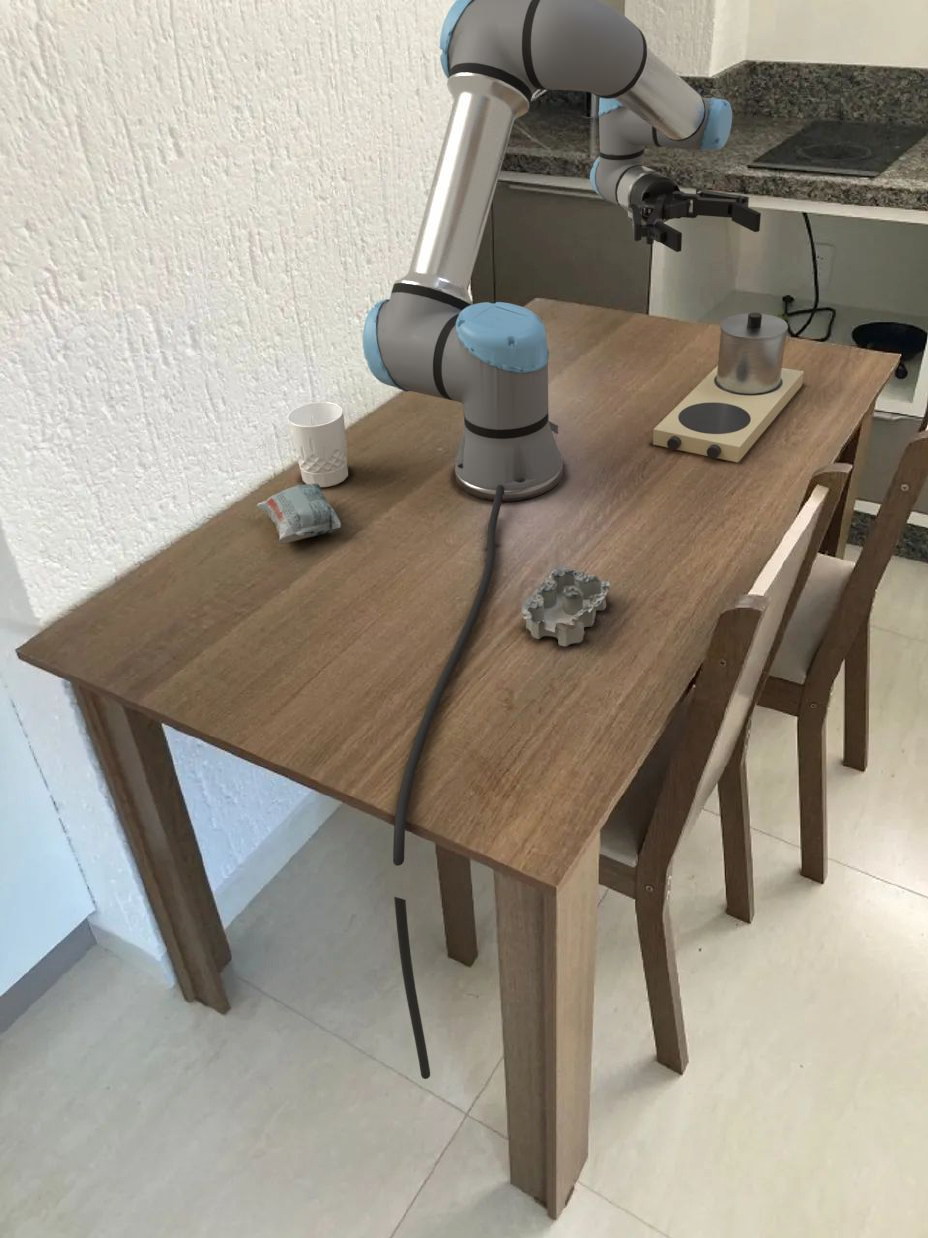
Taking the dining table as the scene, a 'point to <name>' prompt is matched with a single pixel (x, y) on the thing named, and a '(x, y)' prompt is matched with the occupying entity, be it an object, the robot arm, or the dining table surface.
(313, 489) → the packaged food
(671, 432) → the hot plate
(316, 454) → the white cup
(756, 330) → the pot
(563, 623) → the egg carton
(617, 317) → the dining table surface
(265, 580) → the dining table surface
